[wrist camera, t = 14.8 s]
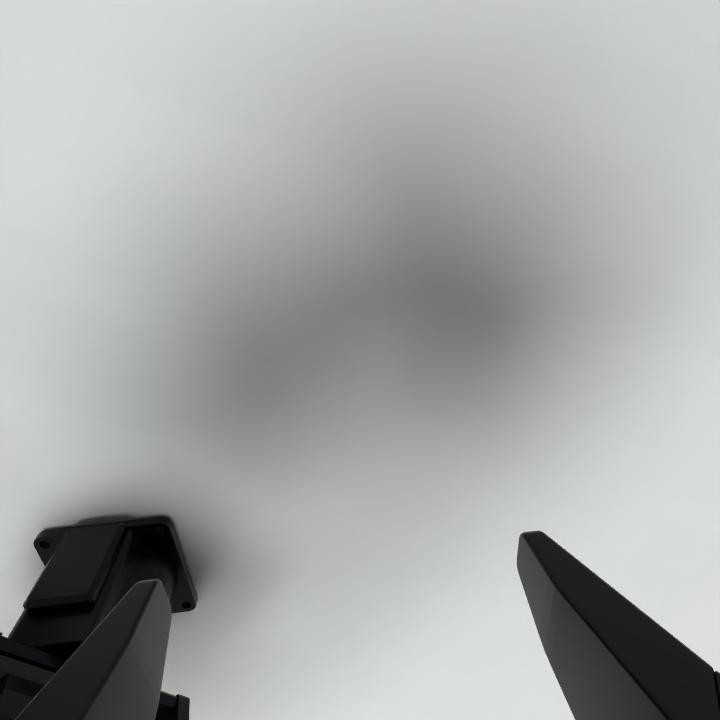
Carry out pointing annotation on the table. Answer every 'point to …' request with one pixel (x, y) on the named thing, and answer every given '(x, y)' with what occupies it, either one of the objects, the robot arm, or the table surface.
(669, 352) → the table surface
